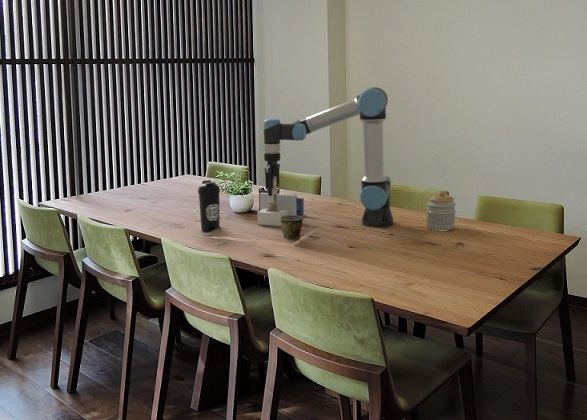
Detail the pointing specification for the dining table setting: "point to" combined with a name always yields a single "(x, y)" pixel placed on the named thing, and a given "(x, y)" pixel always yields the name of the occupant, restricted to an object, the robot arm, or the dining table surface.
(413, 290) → the dining table surface
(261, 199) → the backstop wall
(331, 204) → the dining table surface
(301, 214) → the flask
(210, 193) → the water bottle
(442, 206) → the jar
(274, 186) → the dowel
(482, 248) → the dining table surface
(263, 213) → the sliding block
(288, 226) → the ceramic cup
